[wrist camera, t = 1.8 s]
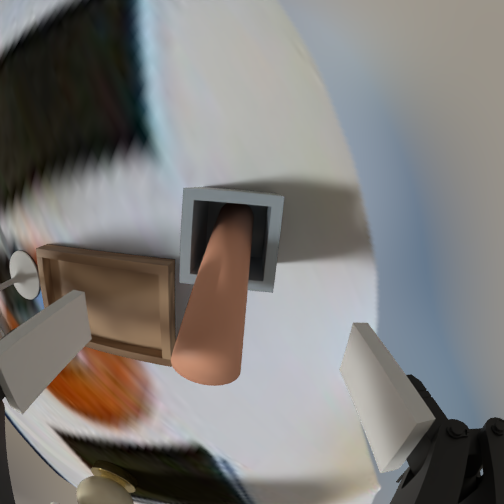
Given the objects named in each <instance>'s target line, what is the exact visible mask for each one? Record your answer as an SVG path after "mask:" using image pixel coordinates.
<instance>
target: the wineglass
mask: <svg viewBox="0 0 504 504" xmlns="http://www.w3.org/2000/svg"><path fill="white" fill-rule="evenodd" d="M10 274H11V278H12V279H10V280H8V281H6V282H4V283H2V284H0V291H1V290H2V289H4V288H6V287H8V286H10V285H12V284H14V286H15V287H16V289H17V291H18V292H19V293H20V294H21V295H22V296H23V297H25V298H26V299H33V298H35V297H36V296H37V295H38V293H39V290H40V279H39V273H38V270H37V267H36V265H35V263H34V261H33V260H32V258H31V257H30V256H29V255H28V254H27V253H26V252H24V251H20V250H19V251H16V252H15V253H14V254H13V255H12V257H11V260H10Z"/></svg>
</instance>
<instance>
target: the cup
mask: <svg viewBox="0 0 504 504" xmlns="http://www.w3.org/2000/svg"><path fill="white" fill-rule="evenodd" d="M226 203H238V204H247V205H248V206H249V207H250V208H251V210H252V211H253V215H254V221H253V233H252V244H251V256H250V267H249V279H248V290H250V291H261V292H272V293H273V288H274V280H275V272H276V264H277V256H278V248H279V240H280V231H281V223H282V214H283V205H284V196H282V195H279V194H277V193H269V192H259V191H248V190H237V189H225V188H212V187H191V188H184V189H183V203H182V219H181V240H180V275H179V283H185V284H193V285H194V283H195V280H196V277H197V274H198V271H199V268H200V265H201V262H202V260H203V257H204V254H205V251H206V248H207V245H208V242H209V240H210V237H211V234H212V231H213V228H214V226H215V223H216V220H217V217H218V215H219V212H220V210H221V208H222V207H223V206H224V205H225V204H226Z"/></svg>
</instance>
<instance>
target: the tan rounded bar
mask: <svg viewBox="0 0 504 504" xmlns="http://www.w3.org/2000/svg"><path fill="white" fill-rule="evenodd" d="M253 221H254V215H253V211H252V210H251V208H250V207H249V206H248V205H247V204H238V203H226V204H225V205H224V206H223V207H222V208H221V210H220V212H219V215H218V217H217V220H216V223H215V226H214V228H213V231H212V234H211V237H210V240H209V242H208V245H207V248H206V251H205V254H204V257H203V260H202V262H201V265H200V268H199V271H198V274H197V277H196V280H195V283H194V286H193V289H192V292H191V295H190V298H189V301H188V304H187V307H186V311H185V314H184V317H183V320H182V323H181V326H180V330H179V333H178V336H177V339H176V343H175V346H174V349H173V353H172V356H171V364H172V366H173V368H174V369H175V371H176V372H177V373H179V374H180V375H181V376H183V377H184V378H186V379H188V380H190V381H193V382H196V383H199V384H204V385H214V386H215V385H224V384H228V383H231V382H233V381H235V380H236V379H237V378H238V377H239V375H240V371H241V360H242V348H243V336H244V325H245V313H246V302H247V290H248V279H249V267H250V256H251V244H252V233H253Z"/></svg>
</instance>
